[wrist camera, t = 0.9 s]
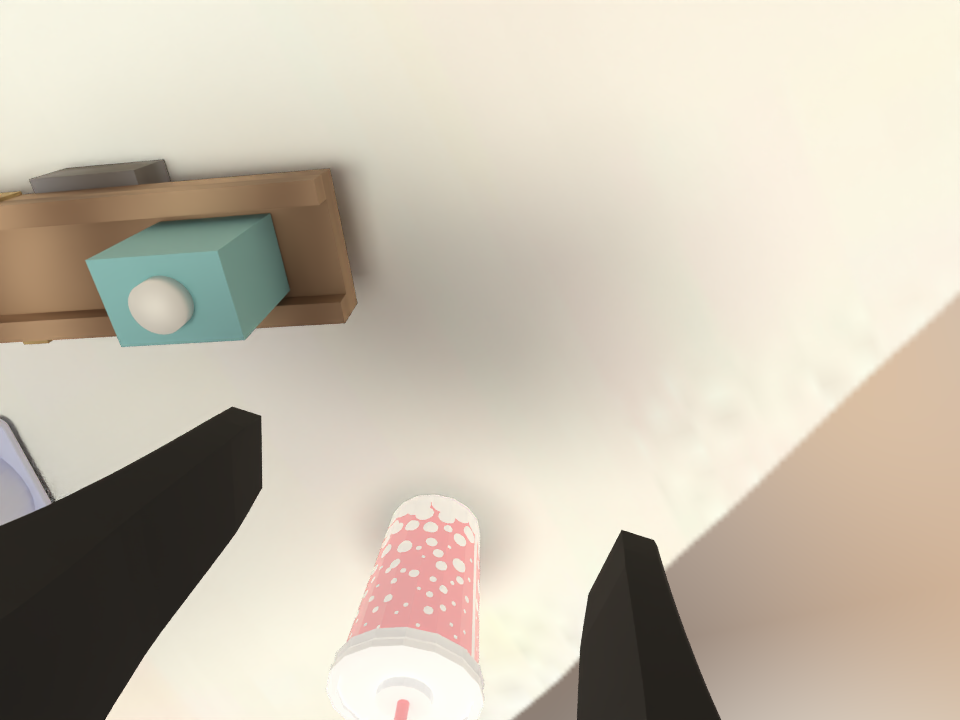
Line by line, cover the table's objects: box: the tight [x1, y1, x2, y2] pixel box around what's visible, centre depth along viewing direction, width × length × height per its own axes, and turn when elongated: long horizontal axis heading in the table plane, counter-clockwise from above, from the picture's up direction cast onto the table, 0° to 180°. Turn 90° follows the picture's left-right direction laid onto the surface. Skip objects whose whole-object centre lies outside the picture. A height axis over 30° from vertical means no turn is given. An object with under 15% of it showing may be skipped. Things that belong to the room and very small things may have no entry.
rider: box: [85, 213, 290, 347], centre depth 19 cm, size 4×3×5 cm
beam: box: [0, 160, 357, 344], centre depth 23 cm, size 18×6×4 cm, turn 95°
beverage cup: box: [326, 494, 484, 720], centre depth 25 cm, size 6×6×14 cm
